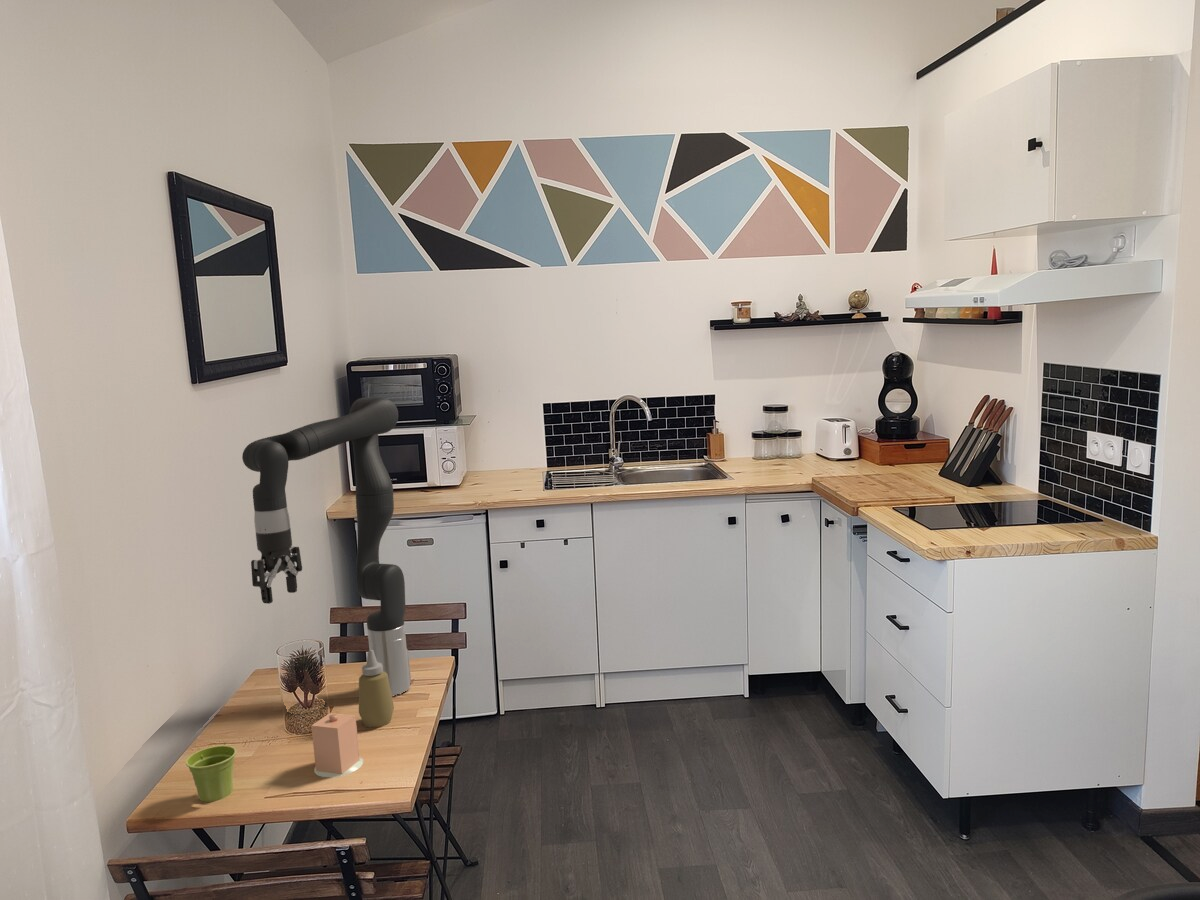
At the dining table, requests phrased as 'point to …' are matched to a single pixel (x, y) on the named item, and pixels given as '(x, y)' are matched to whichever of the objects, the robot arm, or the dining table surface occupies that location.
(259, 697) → the dining table surface
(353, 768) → the plate
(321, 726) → the peach rectangular block
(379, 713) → the squeeze bottle
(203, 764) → the plant pot
